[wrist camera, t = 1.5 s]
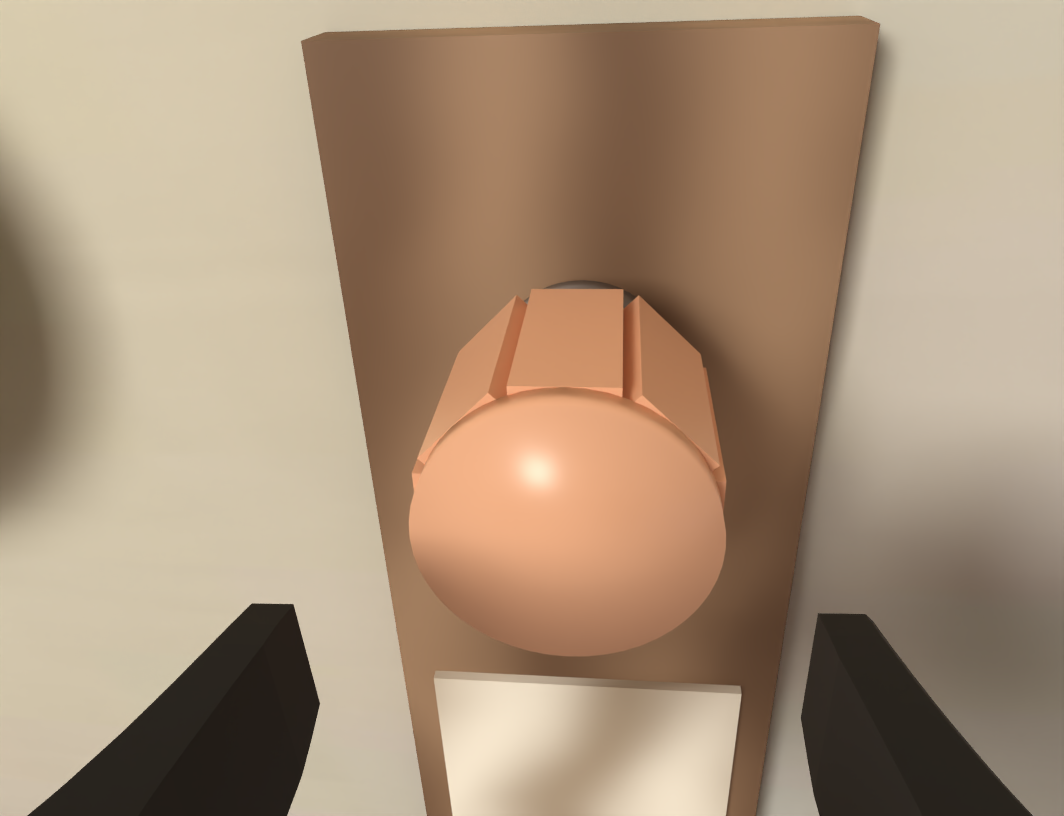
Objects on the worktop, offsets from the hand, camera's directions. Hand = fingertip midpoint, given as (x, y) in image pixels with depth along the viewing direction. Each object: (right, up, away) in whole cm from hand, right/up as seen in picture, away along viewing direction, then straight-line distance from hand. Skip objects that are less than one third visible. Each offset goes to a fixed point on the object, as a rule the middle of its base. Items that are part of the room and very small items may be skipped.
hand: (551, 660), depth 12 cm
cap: (+1, +4, +6) cm, 7 cm away
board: (+1, -1, +13) cm, 13 cm away
